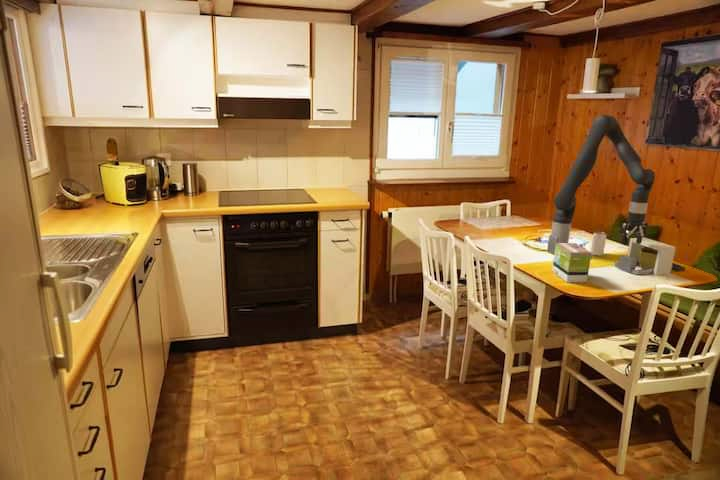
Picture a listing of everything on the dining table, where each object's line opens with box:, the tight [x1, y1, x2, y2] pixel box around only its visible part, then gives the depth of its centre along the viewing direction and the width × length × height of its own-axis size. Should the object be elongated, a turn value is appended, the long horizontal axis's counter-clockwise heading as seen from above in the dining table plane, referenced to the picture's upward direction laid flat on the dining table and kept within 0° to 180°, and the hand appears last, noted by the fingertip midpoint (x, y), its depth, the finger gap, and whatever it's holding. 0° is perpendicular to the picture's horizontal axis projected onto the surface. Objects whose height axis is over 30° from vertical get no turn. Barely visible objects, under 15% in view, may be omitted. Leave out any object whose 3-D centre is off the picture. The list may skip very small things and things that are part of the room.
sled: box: [614, 253, 673, 275], centre depth 242 cm, size 23×14×7 cm, turn 109°
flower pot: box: [638, 248, 658, 269], centre depth 243 cm, size 9×9×9 cm
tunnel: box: [626, 236, 676, 276], centre depth 242 cm, size 9×18×14 cm, turn 19°
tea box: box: [551, 242, 592, 284], centre depth 226 cm, size 15×10×15 cm, turn 5°
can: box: [589, 231, 607, 257], centre depth 264 cm, size 6×6×12 cm
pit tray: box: [672, 262, 686, 272], centre depth 248 cm, size 5×14×2 cm, turn 19°
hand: (631, 244), depth 236 cm, fingers open, 8 cm apart
